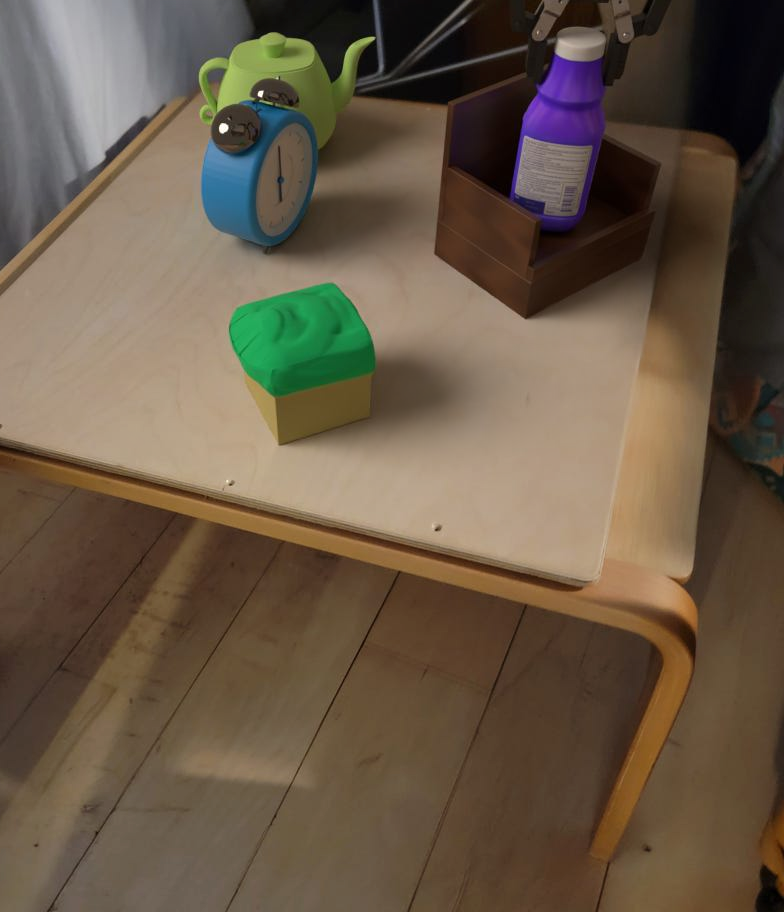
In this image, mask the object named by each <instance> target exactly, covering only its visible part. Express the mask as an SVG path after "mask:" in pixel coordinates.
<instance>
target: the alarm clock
mask: <svg viewBox="0 0 784 912" xmlns="http://www.w3.org/2000/svg"><path fill="white" fill-rule="evenodd" d="M280 77H281V76H278V75H277V78H276V79H275V78H265V79H262V80H259V81H258V82H256V83H255V84H254V85H253V87H252V88H251V91H250V95H249V97H252V98H255V99H254V100H244V101H241V102H239V103H237V104H230V105H228V106H226V107H224V108H222V109H221V110H220V111H219V112H218V113H217V114H216V115H215V117H214V119H213V121H212V124H211V126H210V139H209V141H208V144H207V147H206V151H205V154H204V156H203V157H204V158H203V163H202V168H201V177H200V178H201V179H200V195H201V202H202V207H203V211H204V213H205V216H206V218H207V220H208V222H209V223H210V224H211V226H212V227H213V228H214V229H216V230H217V231H219V232H222V233H223V234H226V235H229V236H233V237H236V238H239V239H242V240H245V241H248V242H250V243H251V242H252V243H254V244H258V245H261V246H262V254H263V255H267V253H268V250H269V247H272V246H276V245H279V244H281V243H283V242H284V241H285V240H286V239H288V238H289V237H290V236H291V235H292V234H293V232H294V231H295V230H296V229H297V227H298V225H299V224H300V222H301V220H302V219H303V218H304V215H305V213H306V211H307V209H308V206H309V205H310V201H311V198H312V196H313V191H314V188H315V185H316V179H317V174H318V165H319V150H318V145H317V138H316V134H315V130H314V127H313V125H312V123H311V122H310V120H309V119H308V118H307V117H306V116H305V115H304V114H302V113H300V112H298V111H294V110H290V109H286V108H282V107H278V106H275V103H276V104H280V105H285V106H290V107H295V108H299V95H298V93H297V91H296V89H295V88H294V87H293V86H292V85H291V84H289V83H288V82H286V81H283V80H280ZM260 100H263V101H267V102H271V103H272V105H270V104H266V103H262V102H259V101H260Z"/></svg>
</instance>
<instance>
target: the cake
mask: <svg viewBox="0 0 784 912" xmlns="http://www.w3.org/2000/svg"><path fill="white" fill-rule="evenodd" d="M228 336H229V341H230V345H231V348H232V350H233V352H234V354H235V355H236V357H237V359H238V361H239V363H240V365H241V367H242V369H243V374H244V383H245V385H246V387H247V389H248V391H249V392H250V394H251V396H252V398H253V400H254V402H255V404H256V406H257V408H258V409H259V411H260V413H261V416H262V417H263V419H264V421H265V423H266V424H267V426H268V428H269V430H270V432H271V434H272V436H273V438H274V440H275V441H276V443H277V445H278V446H281V445H283V444H284V445H285V444H287V443H290V442H294V441H296V440H300V439H303V438H306V437H310V436H312V435H317V434H319V433H322V432H325V431H329V430H332V429H335V428H338V427H341V426H345V425H348V424H351V423H354V422H358V421H361V420H364V419H367V418H370V417H371V416H370V415H371V395H372V394H371V393H372V391H371V388H372V378H373V375H374V373H375V370H376V367H377V361H376V352H375V345H374V341H373V338H372V335H371V332H370V330H369V328H368V327H367V325H366V323H365V322H364V320H363V319H362V317H361V315H360V313H359V310H358V309H357V307H356V306H355V304H354V303H353V302H352V300H351V299H350V298H349V297H348V296H347V295H346V294H345V293H344V292H343V290H341V288H340V287H339V286H338V285H337V284H335V282H331V281H330V282H324V283H319V284H316V285H315V284H314V285H312V286H309V287H305V288H302V289H301V288H300V289H297V290H292V291H289V292H285V293H280V294H277V295H272V296H270V297H266V298H263V299H258V300H254V301H252V302H248V303H245V304H242V305H240V306H237V307H236V308H235V310H234V312H233V314H232V316H231V318H230V322H229V325H228Z"/></svg>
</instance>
